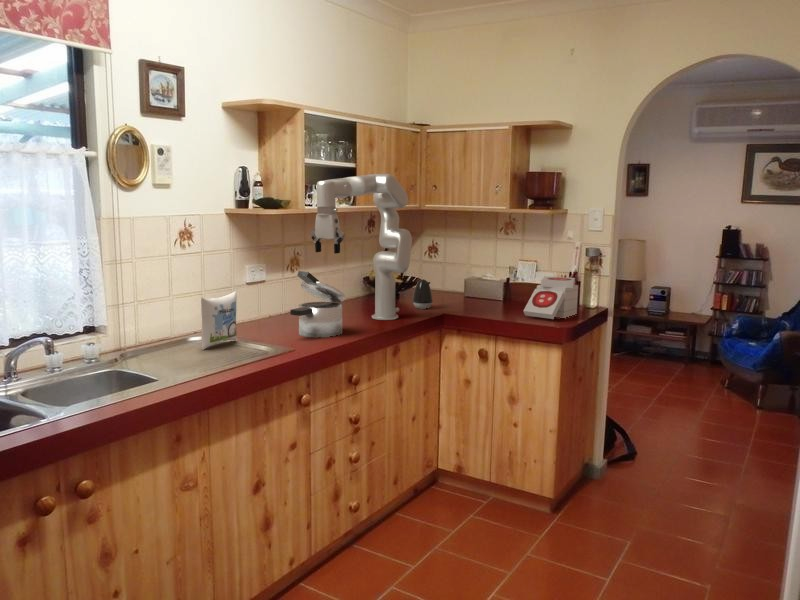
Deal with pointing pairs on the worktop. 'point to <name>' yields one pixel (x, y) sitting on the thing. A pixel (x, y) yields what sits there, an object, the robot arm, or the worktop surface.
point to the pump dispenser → (422, 295)
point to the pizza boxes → (553, 298)
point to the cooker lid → (320, 288)
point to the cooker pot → (319, 319)
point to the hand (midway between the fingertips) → (327, 252)
